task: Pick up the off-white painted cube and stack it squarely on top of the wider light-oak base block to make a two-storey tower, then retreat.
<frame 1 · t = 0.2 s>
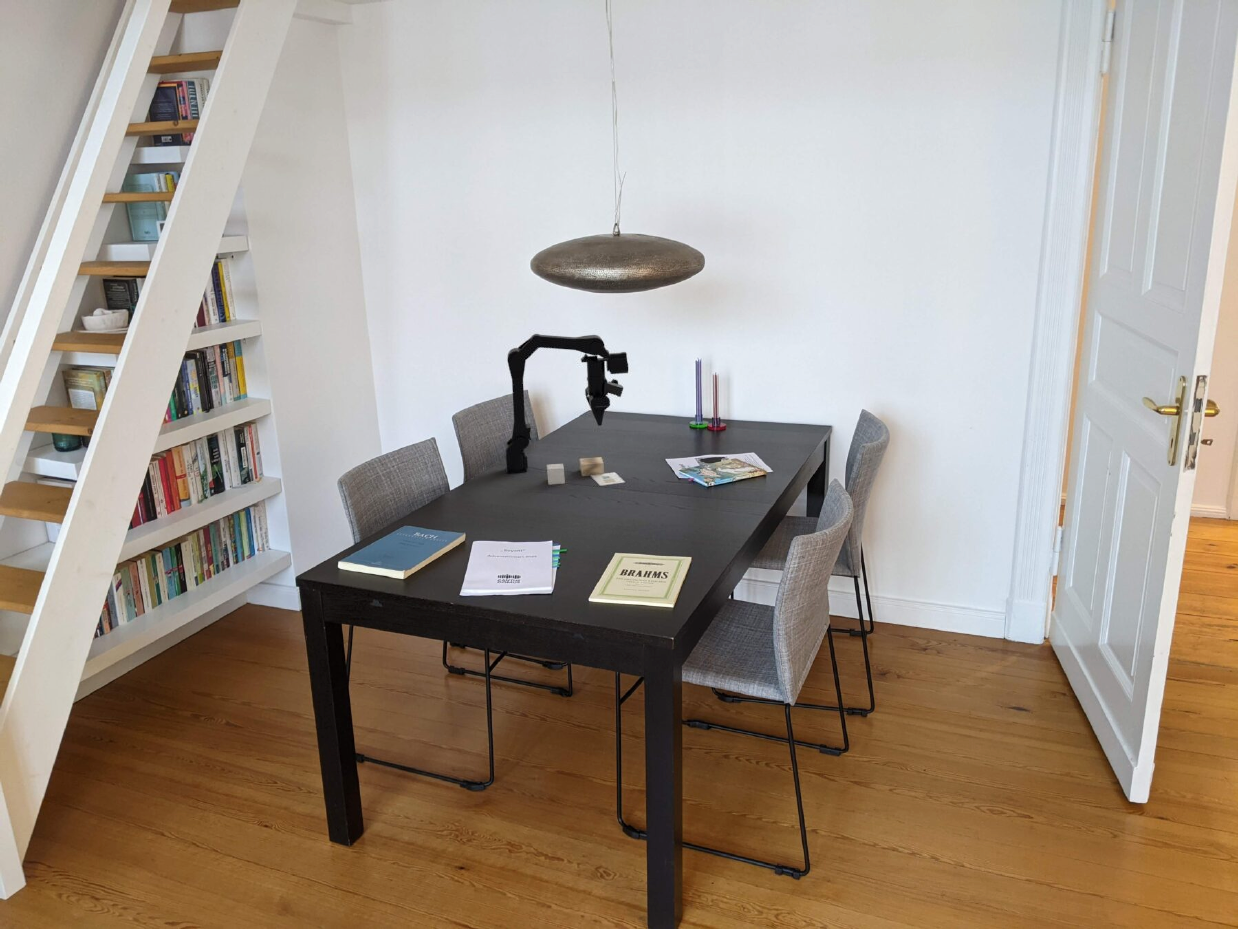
hand: (598, 422, 309), 14 cm above the table, fingers open, 9 cm apart
white cube: (556, 481, 296), on the table
instruction sheet: (607, 479, 296), on the table
oak base: (592, 472, 304), on the table
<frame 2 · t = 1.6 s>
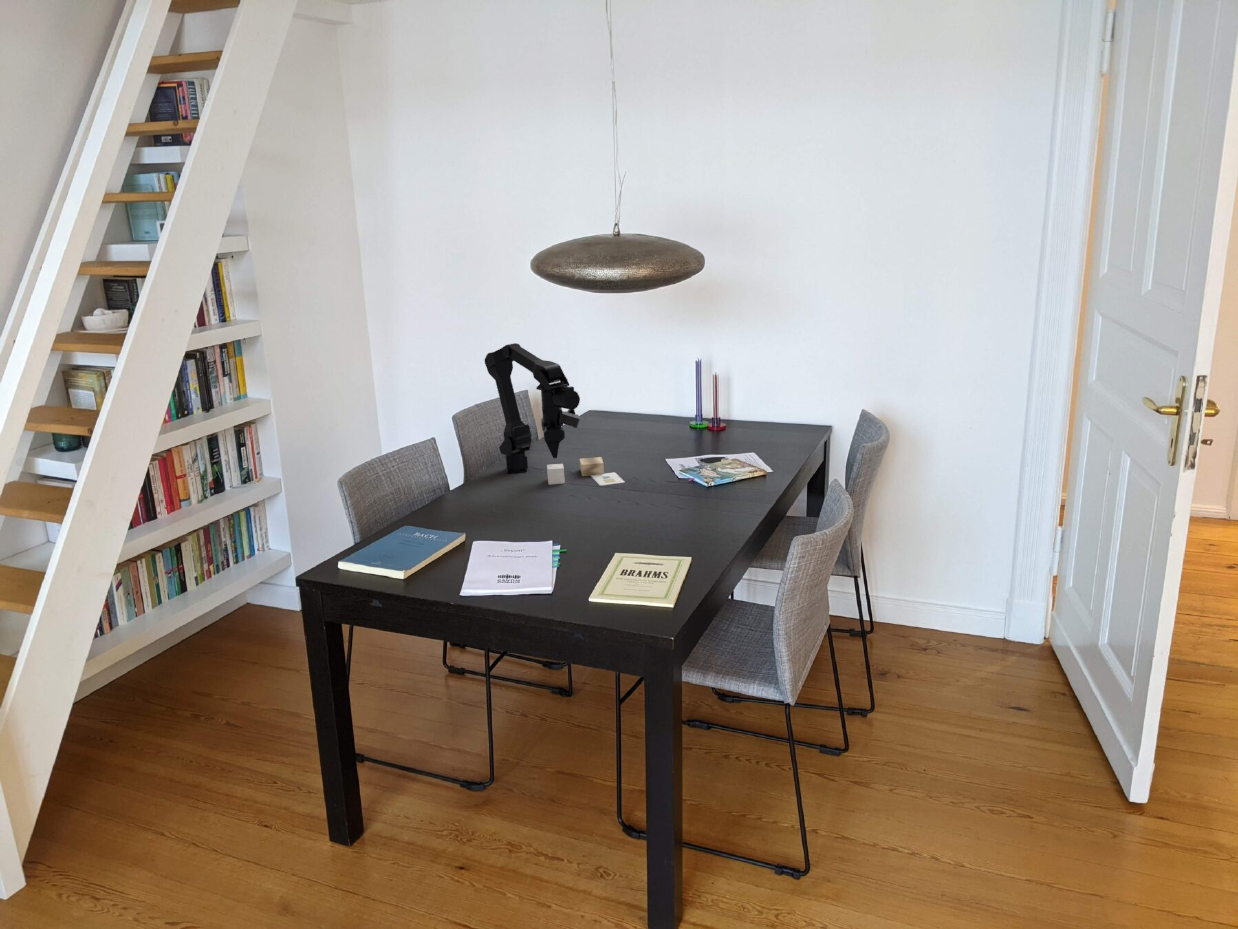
hand: (554, 454, 294), 9 cm above the table, fingers open, 9 cm apart
nothing on the table moved.
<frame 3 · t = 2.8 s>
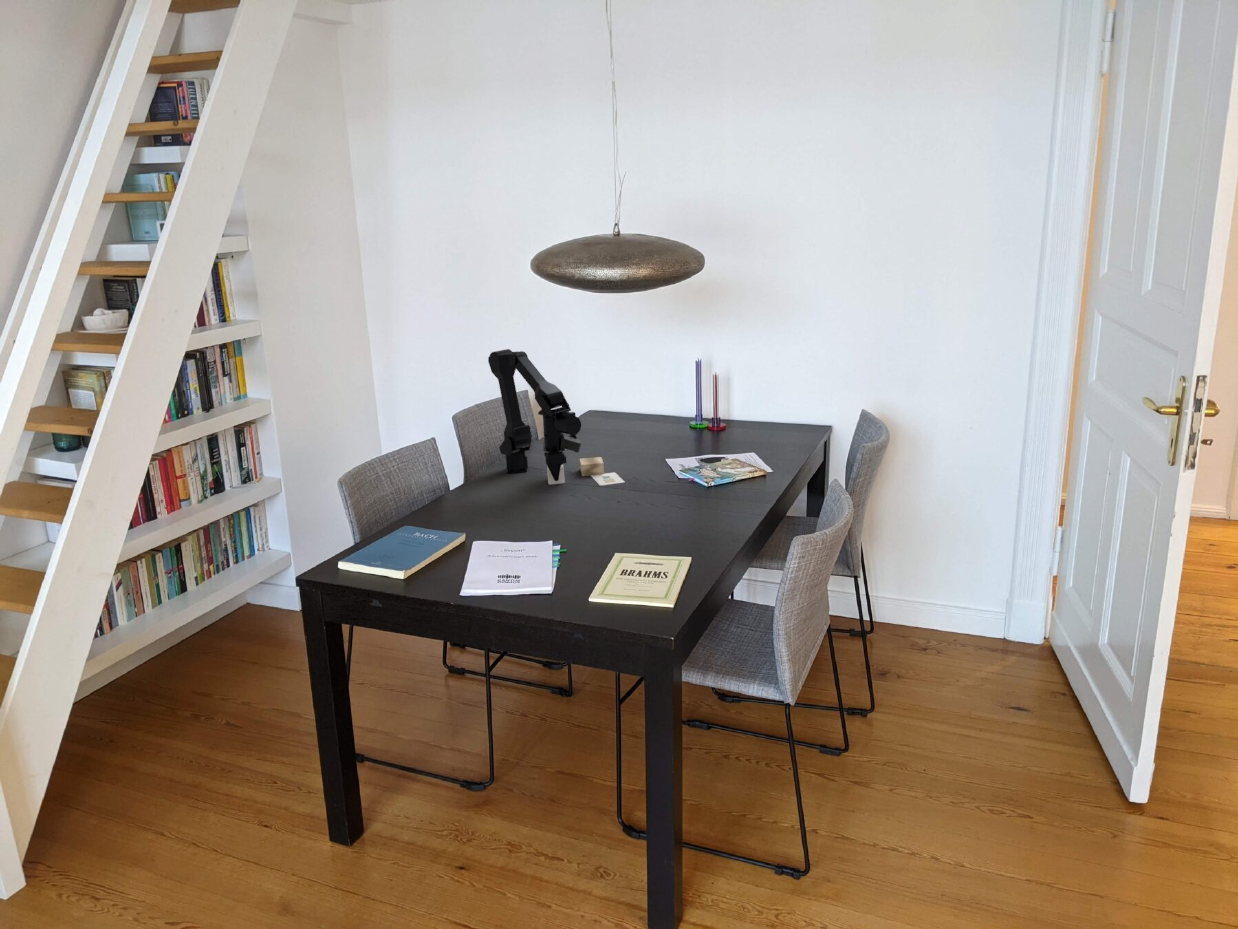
hand: (556, 478, 296), 1 cm above the table, fingers closed on white cube, 5 cm apart
white cube: (556, 481, 296), on the table, touching gripper
everything else where it was.
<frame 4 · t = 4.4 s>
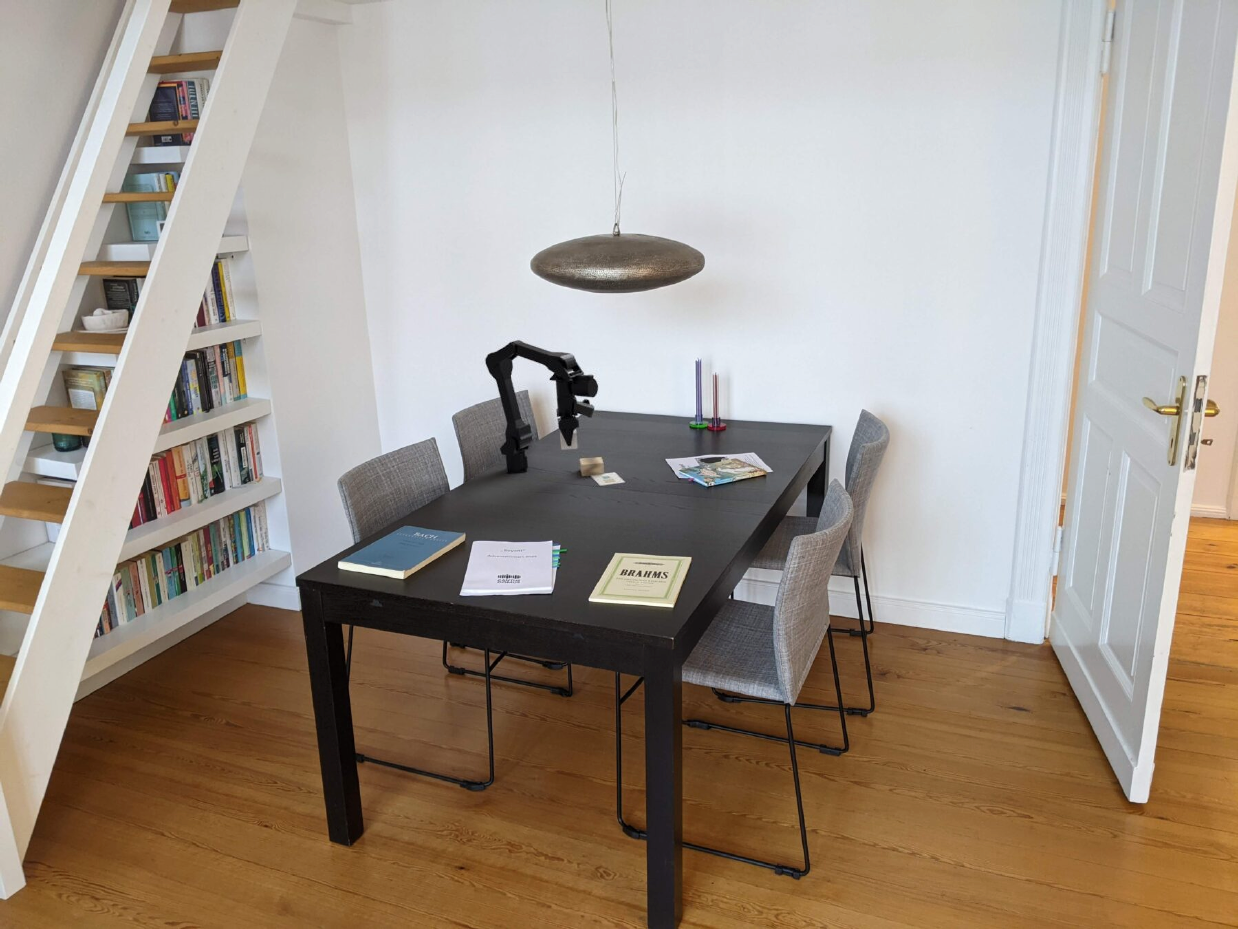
hand: (569, 443, 296), 11 cm above the table, fingers closed on white cube, 5 cm apart
white cube: (569, 447, 296), point 10 cm above the table, touching gripper
everything else where it was.
when the fingers open (6 cm above the table, at t = 6.2 s): white cube drops 1 cm, resting on oak base.
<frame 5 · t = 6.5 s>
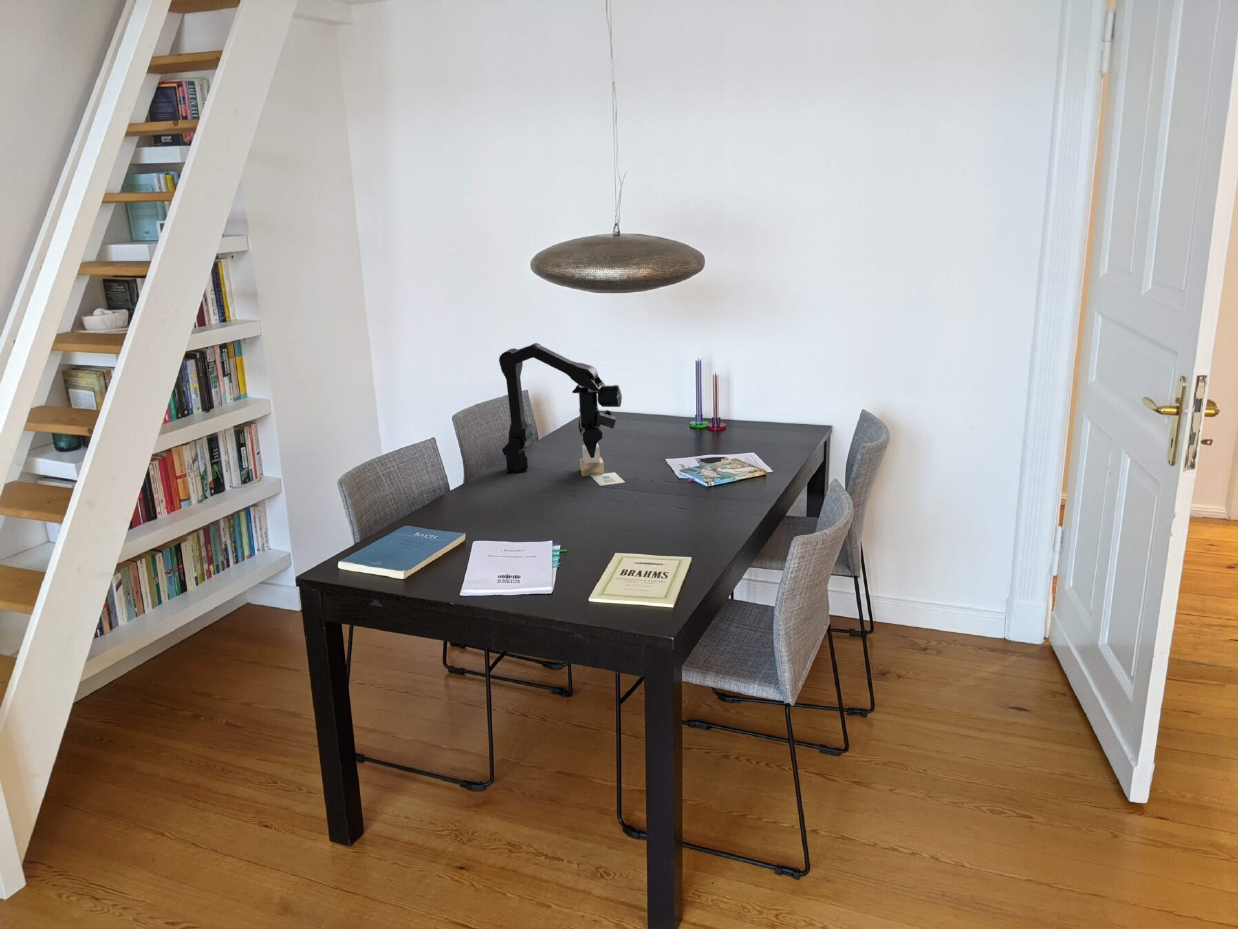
hand: (591, 454, 303), 6 cm above the table, fingers open, 8 cm apart
white cube: (591, 460, 303), point 4 cm above the table, touching oak base
oak base: (592, 472, 304), on the table, touching white cube
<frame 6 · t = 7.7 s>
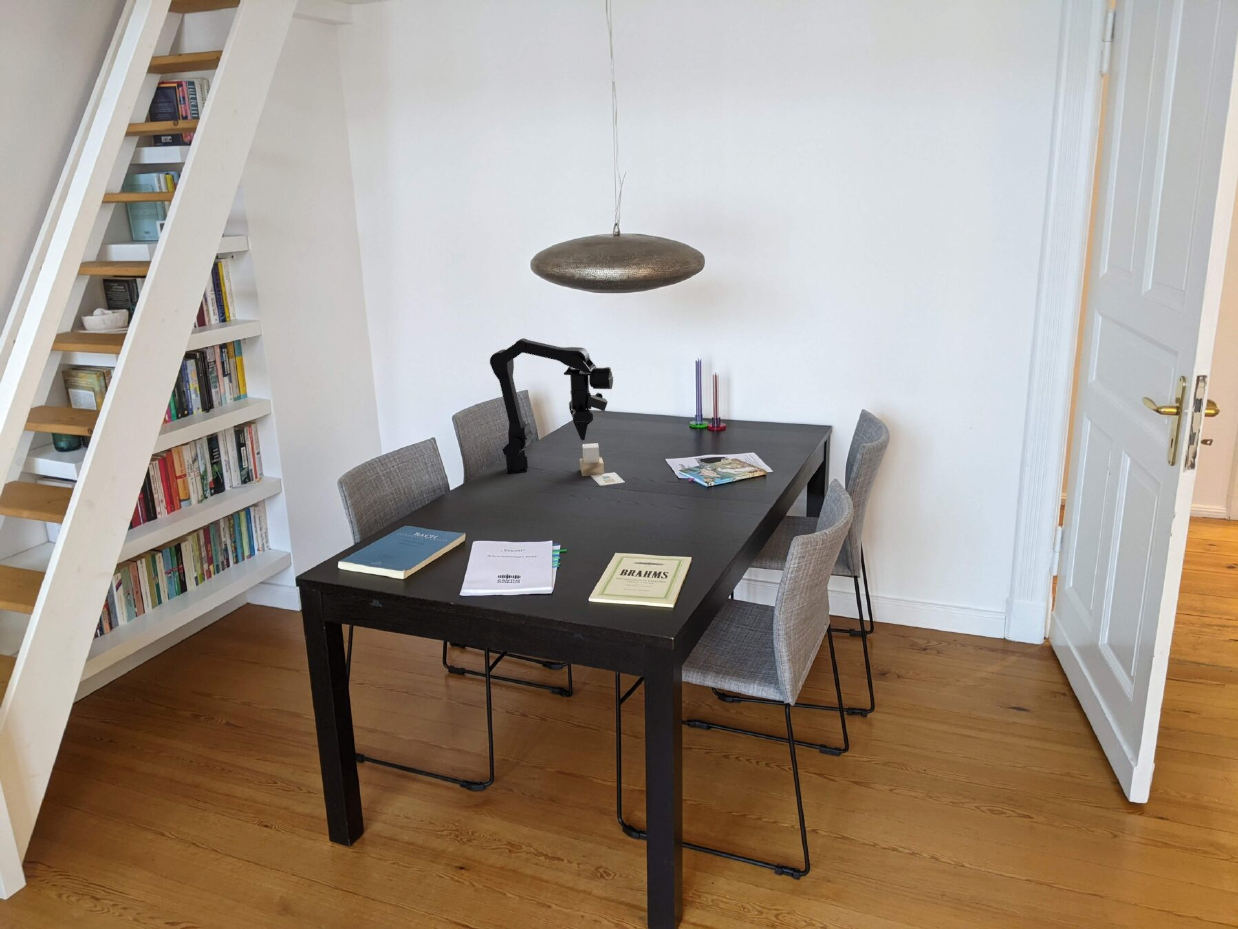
hand: (581, 436, 302), 12 cm above the table, fingers open, 9 cm apart
white cube: (591, 460, 303), point 4 cm above the table
oak base: (592, 472, 304), on the table
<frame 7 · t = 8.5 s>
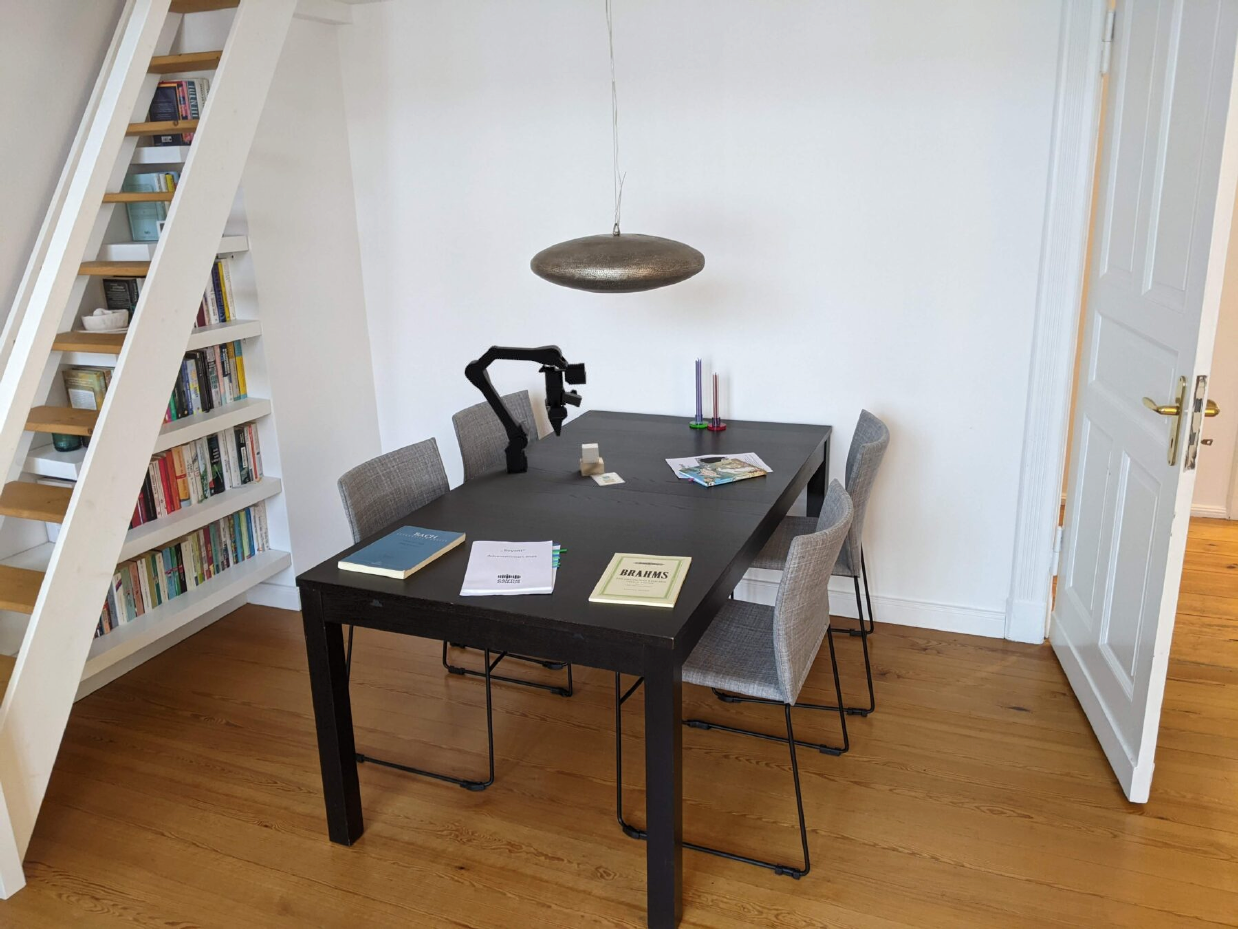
hand: (557, 432, 306), 12 cm above the table, fingers open, 9 cm apart
white cube: (590, 460, 303), point 4 cm above the table, touching oak base
oak base: (592, 472, 304), on the table, touching white cube
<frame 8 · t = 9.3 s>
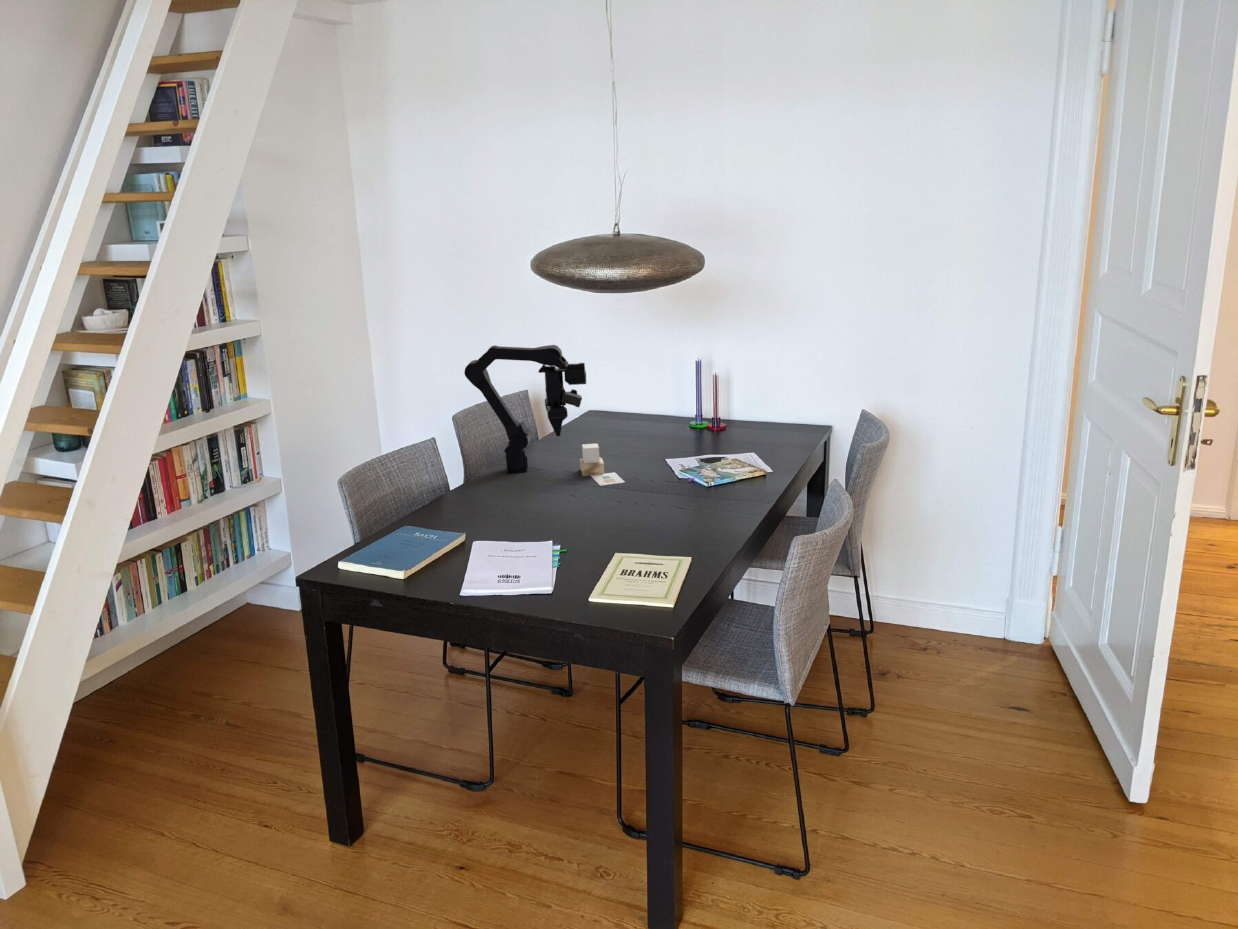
hand: (557, 432, 306), 12 cm above the table, fingers open, 9 cm apart
white cube: (591, 461, 303), point 4 cm above the table
oak base: (592, 472, 304), on the table
at the end: white cube 0.2 cm off-centre on the oak base, point 4.0 cm above the oak base's base; white cube tilted 0°; the gripper is holding nothing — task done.
